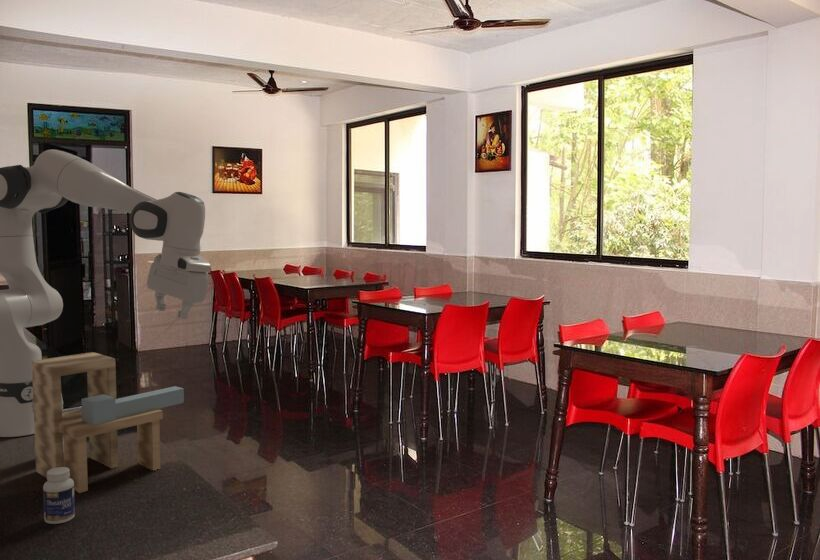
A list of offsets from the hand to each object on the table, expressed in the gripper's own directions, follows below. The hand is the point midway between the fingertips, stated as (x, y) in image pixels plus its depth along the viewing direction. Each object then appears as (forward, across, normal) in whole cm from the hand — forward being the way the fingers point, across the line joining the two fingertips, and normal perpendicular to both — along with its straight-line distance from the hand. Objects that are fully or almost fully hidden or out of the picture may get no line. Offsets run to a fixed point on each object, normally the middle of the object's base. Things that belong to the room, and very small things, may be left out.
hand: (171, 314), depth 169 cm
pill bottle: (+37, +20, -32) cm, 53 cm away
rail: (+22, +7, -10) cm, 25 cm away
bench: (+36, +8, -14) cm, 40 cm away
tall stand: (+38, -2, -17) cm, 41 cm away
